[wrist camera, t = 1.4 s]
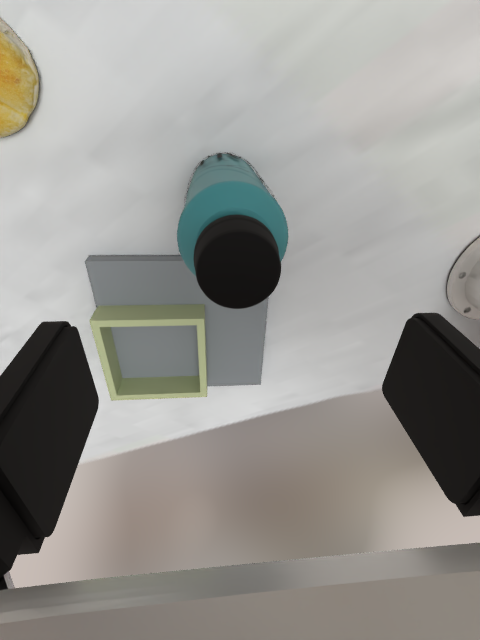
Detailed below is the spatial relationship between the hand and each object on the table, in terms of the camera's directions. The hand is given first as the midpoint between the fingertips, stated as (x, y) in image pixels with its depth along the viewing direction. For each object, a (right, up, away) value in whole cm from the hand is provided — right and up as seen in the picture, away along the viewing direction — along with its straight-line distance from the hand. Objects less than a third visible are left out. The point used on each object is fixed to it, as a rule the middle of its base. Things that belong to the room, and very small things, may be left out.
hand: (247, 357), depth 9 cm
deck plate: (-7, 0, +30) cm, 30 cm away
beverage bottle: (-2, +14, +21) cm, 26 cm away
